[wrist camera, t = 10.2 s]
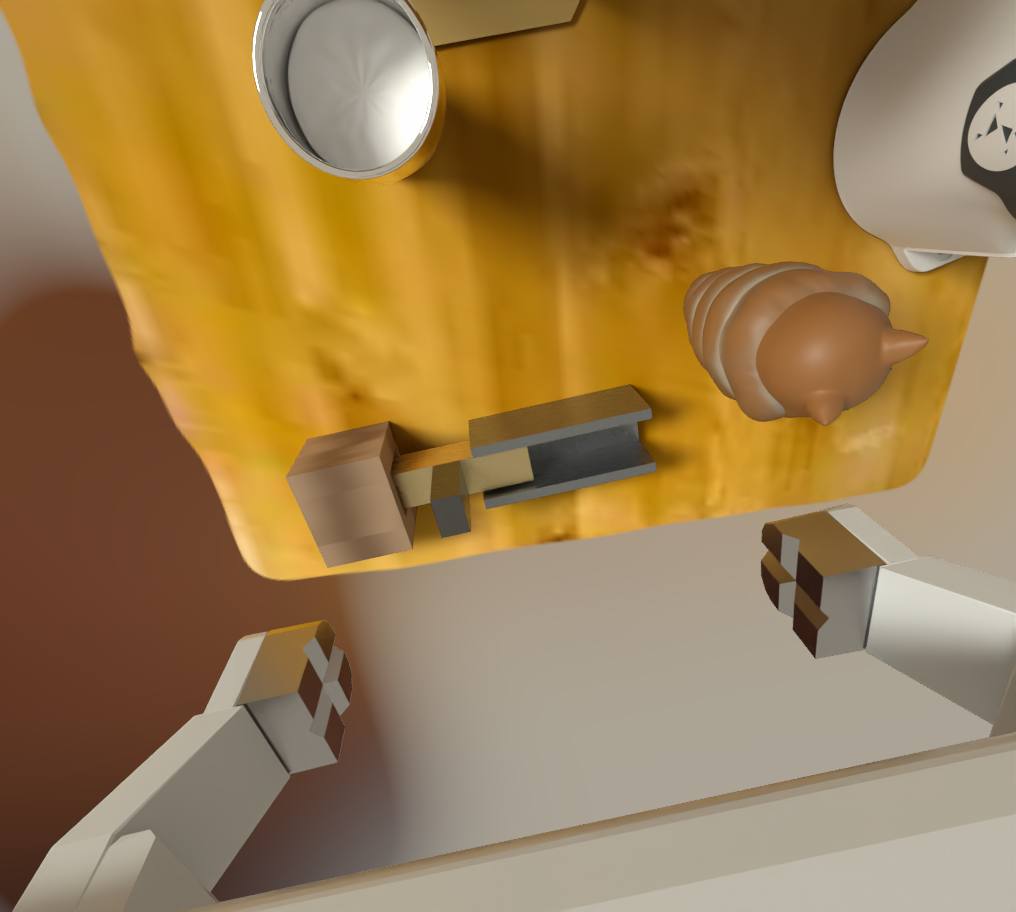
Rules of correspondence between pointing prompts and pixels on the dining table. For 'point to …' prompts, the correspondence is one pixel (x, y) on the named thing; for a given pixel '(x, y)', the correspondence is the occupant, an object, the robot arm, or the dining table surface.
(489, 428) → the grey track with slider
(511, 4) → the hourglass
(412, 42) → the silver cup
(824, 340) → the cat ice cream
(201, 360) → the dining table surface
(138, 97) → the dining table surface
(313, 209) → the dining table surface
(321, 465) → the socket
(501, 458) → the tan grey t-shaped block
